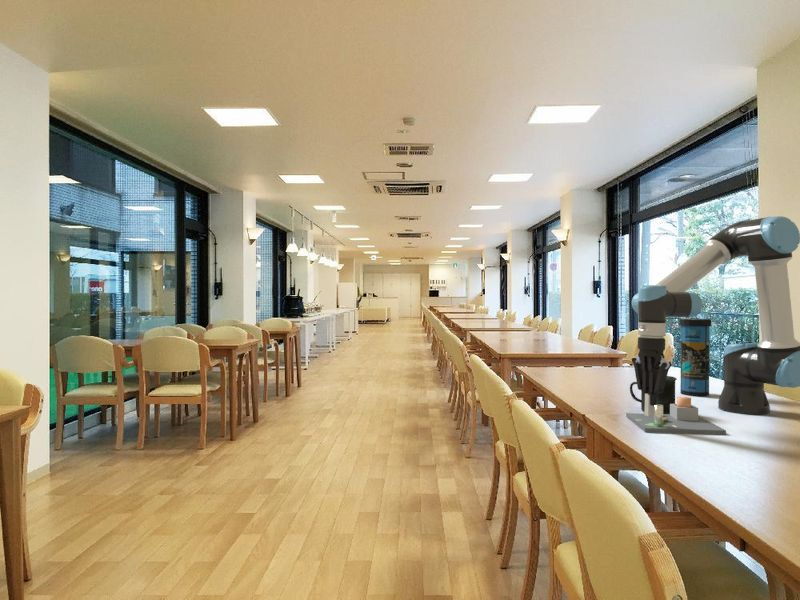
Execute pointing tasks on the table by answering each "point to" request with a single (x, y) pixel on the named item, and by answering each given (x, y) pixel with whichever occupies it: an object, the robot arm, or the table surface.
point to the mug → (661, 395)
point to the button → (684, 402)
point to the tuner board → (677, 422)
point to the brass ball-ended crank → (659, 415)
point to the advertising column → (695, 356)
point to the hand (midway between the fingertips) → (649, 415)
